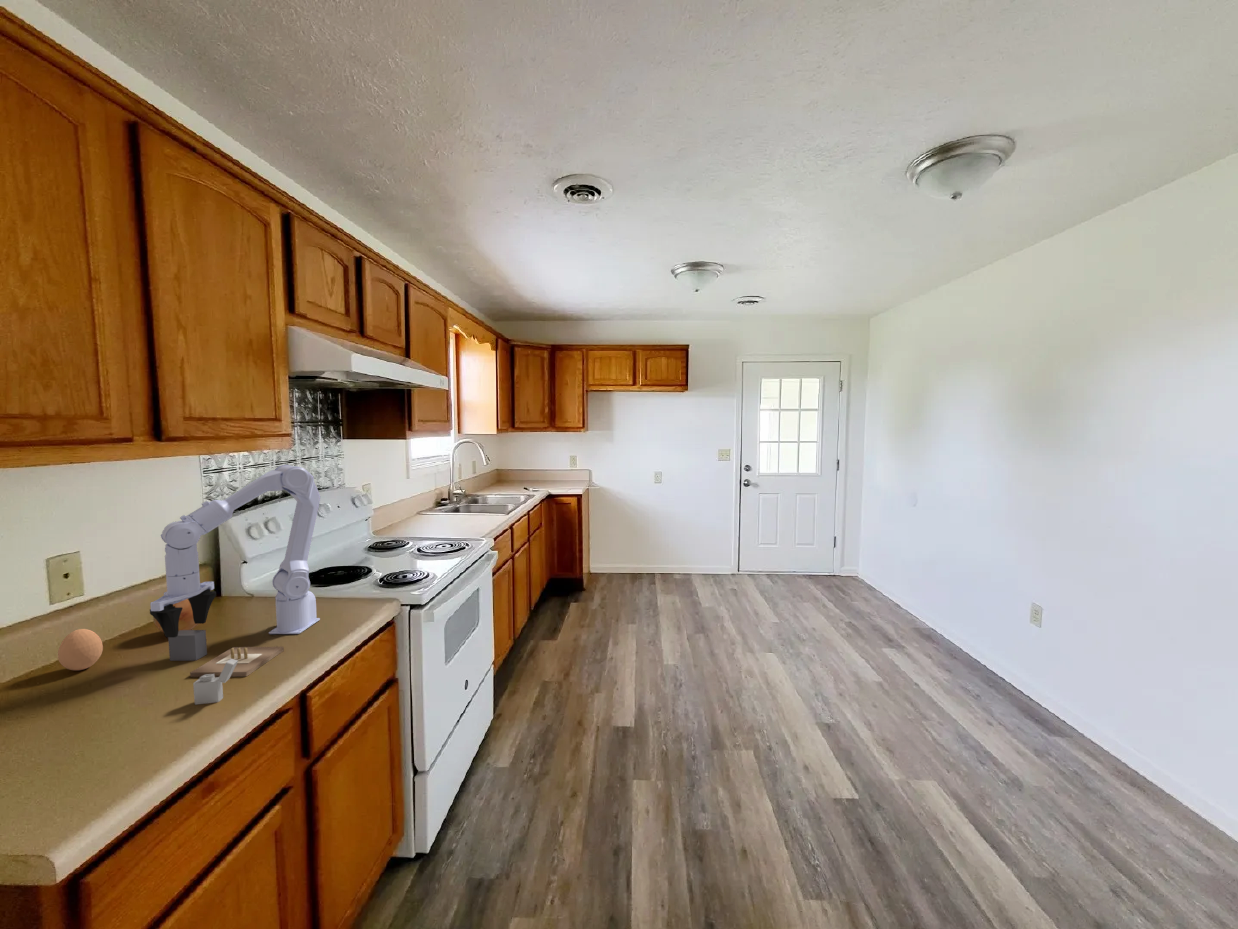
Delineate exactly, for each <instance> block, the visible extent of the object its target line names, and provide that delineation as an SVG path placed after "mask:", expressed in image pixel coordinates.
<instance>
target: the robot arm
mask: <svg viewBox="0 0 1238 929" xmlns="http://www.w3.org/2000/svg"><path fill="white" fill-rule="evenodd" d="M277 491H279V492H280V491H286V492H287V493H288V494H290V496H291V497H292V498H293V499H294V500H295V501H296V505H295V509H294V513H293V518H292V522H291V527H290V531H289V536H288V540H287V541H288V542H287V546H286V551H285V555H284V559H283V561H281V562H280V564H279V568H278V570H277V572H276V573H275V575H273V578H272V581H271V582H272V583H271V584H272V587H273V588H274V589H275V590H276V591H277V593H276V594H275V614H276V616H275V618H276V627H274V628H273V629H272V630H270V631H269V632H268V634H269V635H298V634H301V633H303V632H304V631H305V630H307V629H308V628H310V627H311V626H313V625H314V624H315V623H316V624H317V622H318V621H320V620H321V618H320V617H317V601H316V600H317V599H316V595H315V594H314V593H313V592H312V591H310V587H311V581H310V578H309V574H310V568H309V564H308V558H309V555H310V549H311V543H312V541H313V540H312V539H313V536H314V535H313V534H314V532H315V531H314V530H315V527H316V526H315V525H316V521H317V518H318V517H317V515H318V511H319V506H320V503H321V502H320V501H321V494H320V492H319V489H318V487H317V484H316V483H315V477H314V476H313V474H311V472H310V471H308V470H307V468H305V467H302V466H294V465H290V464H282V465H279V466H277V467H275V469H271V470H268V471H267V472H265V473H264V474H261V475H260V476H259V477H257V478H255V479H254V480H252V481H251V482H249V483H248V484H246V485H245V486H243V487H242V488H240V489H239V490H237V491H236V492H234V493H232V494H231V495H229V496H228V497H226V498H225V499H212V500H210V501H208V500H205V501H204V502H202V503H201V507H199V508H197V509H196V510H194V511H192V512H190V513H188V514H187V515H185V514H183V515H181V516H179V519H180V520H178V521H172V522H170V523H169V524H166V526H165V527H164V528H163V530H162V532H161V534H160V538H161V540H162V541H163V542H164V543H166V544H165V545H164V546H165V547H164V552H165V555H164V564H165V565H164V566H165V578H166V579H165V580H166V591H165V592H163V595H162V596H161V597H159V598H158V599H156V600H154V601H151V602H150V609H149V614H150V615H151V616H152V618H153V617H154V618H155V619H156V620H157V621H158V623H159V624H160V626H161V627H162V630H163V632H162V633H163V634H164V637H165V638H166V639H168V638H169V637H177V636H178V630H179V617H180V614H181V611H182V609H183V608H182V607H180V608H175V606H173V604H176V603H178V602H181V601H183V600H186V599H188V600H189V602H190V604H191V607H192V612H193V619H194V622H195V624H198V625H199V624H203V625H204V624H205V623H206V622H207V619H208V614H209V611H210V608H211V605H212V604H213V601H214V600H215V599H216V597H217V591H214V589H215V581H203V582H201V578H200V576H201V574H200V564H199V562H200V561H199V560H200V559H199V558H200V557H199V551H198V542H199V541H200V539H201V537H202V536H205V535H207V534H208V533H210V532H212V531H213V530H214V529H216V528H218V527H219V526H221V525H222V524H225V522H227V521H229V520H231V519H232V518H233V513H234V511H235V510H237V509H238V508H240V507H242V506H244V505H245V504H247V503H249V502H251V501H252V500H254V499H256V498H258V497H259V496H261V495H263V494H265V493H267V492H277Z"/></svg>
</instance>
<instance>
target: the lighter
mask: <svg viewBox="0 0 1238 929" xmlns="http://www.w3.org/2000/svg"><path fill="white" fill-rule="evenodd" d="M237 662H238V660H234V659H230V660H229V661H227V663H226V664H225V666H224V668H223V670H222V672H221V674H220V676H219V677H215V675H214V674H206V675H203V676H201V677H198V679H197V680H196V681H194V682H193V683H192V684H193V696H194V698H193V699H194V705H195V706H196V705H204V704H214V703H219V702H220V701H222V700H223V699H224V693H223V692H224V690H223V689H224V687H223V684H225V683H226V682H228V681H229V680H230V678H231V675H232V672H233V670H234V668H235V666H236V664H237Z"/></svg>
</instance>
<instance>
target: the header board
mask: <svg viewBox="0 0 1238 929" xmlns="http://www.w3.org/2000/svg"><path fill="white" fill-rule="evenodd" d="M284 648H285V647H284V646H233V647H231V648H229V649H227V650H226V651H224V652H222V653H220V654H219V655H218V656H215V657H213V658H212V659H210V660H209V661H207V662H206V663H204V664H202V665H200V666H198V667H197V668H196V669H194V670H192V671H190V672H189V675H190V678H191V677H192V678H200V677H201V676H203V675H206V674H214V675H215V678H216V677H219V676H220V674H221V672H222V670H223V668H224V666H225V664H226V663H227V661H229V660H230V659H234V660H238V662H237V664H236V666H235V668H234V670H233V672H232V675H231V677H248V676H249V675H251V674H252V673H254V672H255V671H256V670H258V669H259V668H261V667H262V666H264V665H265V664H266V663H268V662H269V661H271V660H272V659H274V658H275V657H276V656H278V655H280V654H281V653H283V652H284ZM231 677H230V678H231Z"/></svg>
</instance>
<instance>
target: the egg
mask: <svg viewBox="0 0 1238 929" xmlns="http://www.w3.org/2000/svg"><path fill="white" fill-rule="evenodd" d="M103 650H104V646H103V641H102V639H101V637H100V636H99V634H97V633H96V632H94V631H93V630H91V629H87V628H78V629H76V630H73V631H71V632H70V633H69V634H67V635H66V636H65V637H64V638H63V640H62V641H61V644H60V646H59V647H58V650H57V659H58V661H59V663H60V665H61V666H62V667H64V668H65V669H67V670H71V671H82V670H85V669H86V670H87V669H88V668H91V666H93V665H94V664H96V662H98V660H99V659H100V658H101V656H102V653H103Z"/></svg>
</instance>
